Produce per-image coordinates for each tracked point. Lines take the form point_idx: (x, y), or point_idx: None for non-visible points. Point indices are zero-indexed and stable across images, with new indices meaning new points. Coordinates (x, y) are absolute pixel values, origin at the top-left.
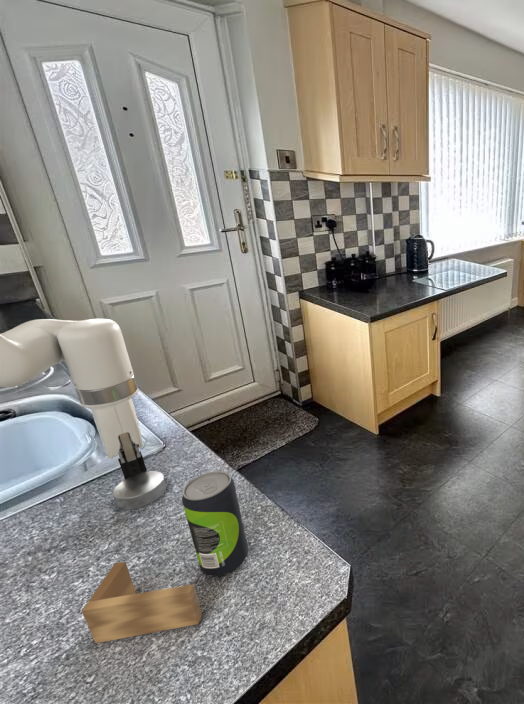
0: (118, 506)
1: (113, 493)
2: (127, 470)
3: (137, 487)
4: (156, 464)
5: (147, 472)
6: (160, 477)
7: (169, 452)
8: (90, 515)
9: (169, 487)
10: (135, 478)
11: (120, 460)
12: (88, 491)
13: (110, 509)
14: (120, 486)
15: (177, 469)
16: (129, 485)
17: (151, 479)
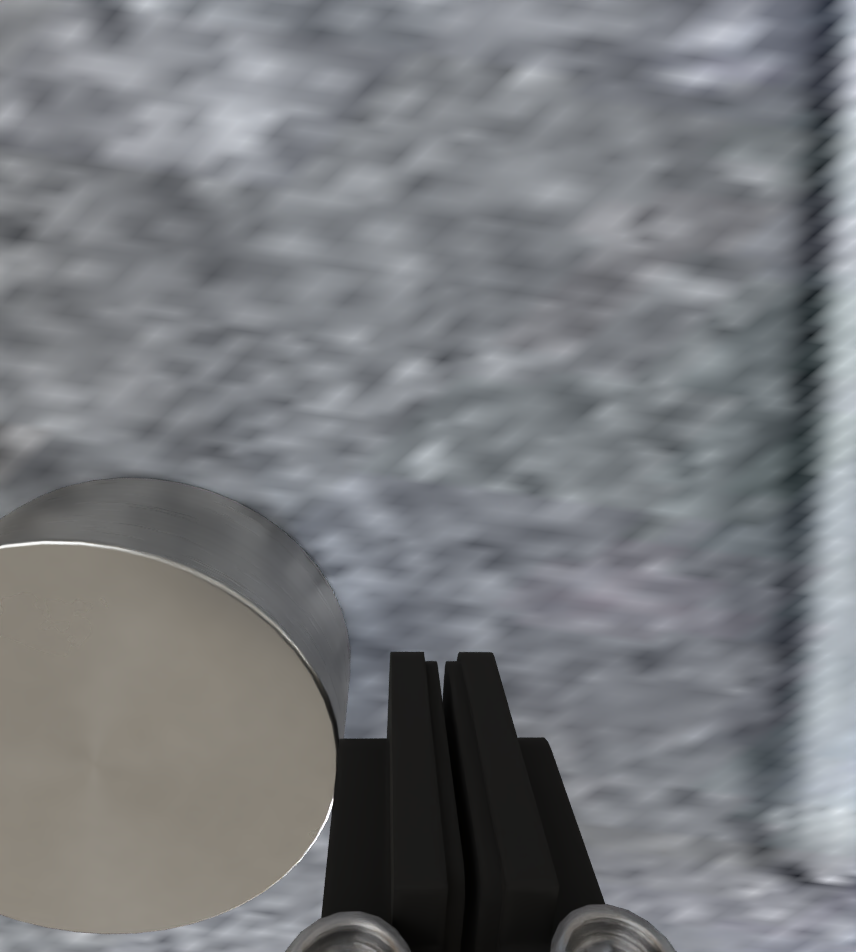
0: (61, 492)
1: (66, 549)
2: (386, 775)
3: (24, 748)
4: (583, 800)
5: (287, 849)
6: (83, 916)
7: (684, 887)
8: (129, 259)
9: None
10: (248, 757)
11: (499, 889)
12: (625, 313)
13: (108, 422)
14: (183, 626)
15: None
16: (140, 694)
17: (103, 858)
